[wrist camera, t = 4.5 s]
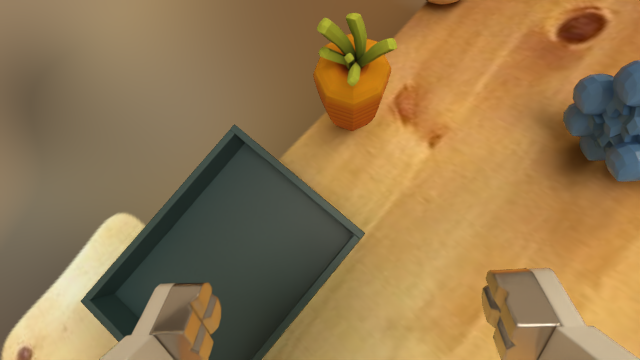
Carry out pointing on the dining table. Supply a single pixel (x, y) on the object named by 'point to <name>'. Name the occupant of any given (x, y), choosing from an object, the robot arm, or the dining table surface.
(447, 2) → the plastic bottle
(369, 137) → the dining table surface
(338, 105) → the carrot
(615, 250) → the dining table surface
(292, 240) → the tray
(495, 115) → the dining table surface
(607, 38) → the dining table surface
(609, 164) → the grapes
